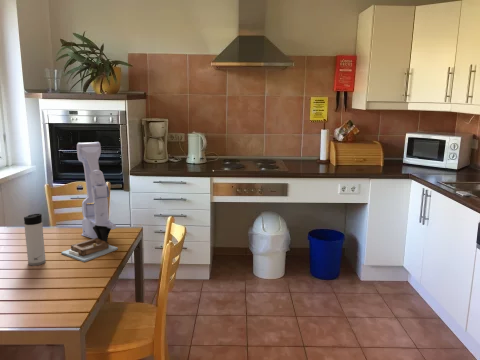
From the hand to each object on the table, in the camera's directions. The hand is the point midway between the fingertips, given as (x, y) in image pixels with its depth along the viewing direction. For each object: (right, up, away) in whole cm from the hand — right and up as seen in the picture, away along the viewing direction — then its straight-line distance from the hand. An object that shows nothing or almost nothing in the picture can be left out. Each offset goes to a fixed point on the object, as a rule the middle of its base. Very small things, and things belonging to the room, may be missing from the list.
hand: (103, 241), depth 184 cm
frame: (-3, -2, -7) cm, 8 cm away
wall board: (-3, -3, -6) cm, 8 cm away
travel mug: (-20, -6, -19) cm, 28 cm away
